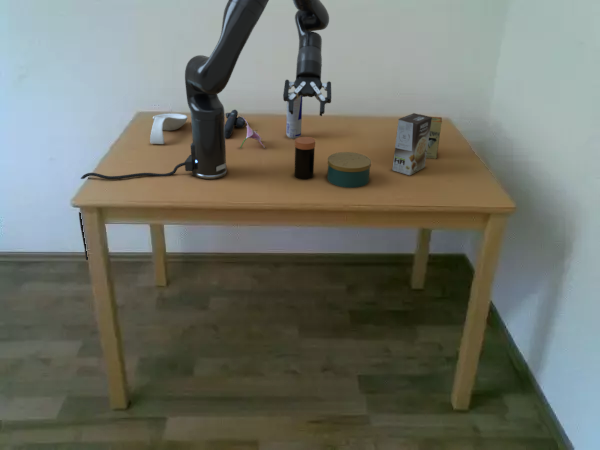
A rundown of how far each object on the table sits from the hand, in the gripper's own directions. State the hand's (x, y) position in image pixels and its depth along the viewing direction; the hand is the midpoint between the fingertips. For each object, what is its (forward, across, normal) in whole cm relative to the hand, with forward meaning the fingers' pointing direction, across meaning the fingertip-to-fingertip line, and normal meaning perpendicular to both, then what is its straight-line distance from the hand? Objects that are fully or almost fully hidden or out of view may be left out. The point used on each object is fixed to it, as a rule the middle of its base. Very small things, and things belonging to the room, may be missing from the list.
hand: (306, 113), depth 173 cm
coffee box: (+12, +32, +11) cm, 35 cm away
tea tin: (+18, 0, +4) cm, 18 cm away
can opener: (-8, -26, +30) cm, 41 cm away
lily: (+2, -18, +20) cm, 27 cm away
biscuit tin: (+19, +13, +4) cm, 23 cm away
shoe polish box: (+3, +40, +19) cm, 44 cm away
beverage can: (-6, -5, +28) cm, 29 cm away
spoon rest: (-4, -48, +27) cm, 55 cm away
